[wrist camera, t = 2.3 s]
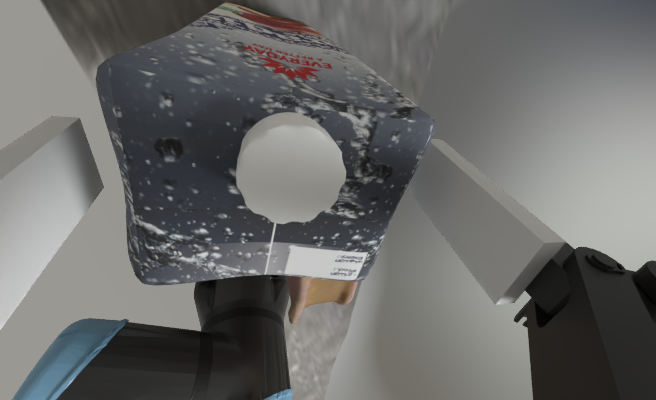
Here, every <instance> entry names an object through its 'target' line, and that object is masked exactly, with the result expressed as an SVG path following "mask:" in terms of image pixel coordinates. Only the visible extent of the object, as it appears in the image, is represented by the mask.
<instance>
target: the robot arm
mask: <svg viewBox="0 0 656 400" xmlns="http://www.w3.org/2000/svg"><path fill="white" fill-rule="evenodd" d="M103 188H104V186H103V183H102V180H101V177H100V174H99V172H98V169H97V166H96V163H95V160H94V157H93V155H92V152H91V149H90V146H89V143H88V140H87V137H86V135H85V132H84V129H83V126H82V123H81V120H80V118H72V117H56V116H51V117H50V118H48V119H47V120H46V121H44V122H42V123H41V124H39V125H38V126H36V127H35V128H33V129H32V130H30V131H29V132H27V133H26V134H24V135H23V136H21V137H20V138H18V139H17V140H15V141H14V142H12V143H11V144H9V145H8V146H6V147H5V148H3V149H2V150H0V330H1V328H2V327H3V326H4V324H5V323H6V321H7V320H8V319H9V317H10V316H11V315H12V313H13V312H14V310H15V309H16V308H17V306H18V305H19V304H20V302H21V301H22V299H23V298H24V297H25V295H26V294H27V292H28V291H29V290H30V288H31V287H32V286H33V284H34V283H35V281H36V280H37V279H38V277H39V276H40V275H41V273H42V272H43V270H44V269H45V268H46V266H47V265H48V264H49V262H50V261H51V259H52V258H53V257H54V255H55V254H56V252H57V251H58V250H59V248H60V247H61V246H62V244H63V243H64V241H65V240H66V239H67V237H68V236H69V235H70V233H71V232H72V230H73V229H74V228H75V226H76V225H77V223H78V222H79V221H80V219H81V218H82V217H83V215H84V214H85V212H86V211H87V210H88V208H89V207H90V206H91V204H92V203H93V202H94V200H95V199H96V197H97V196H98V195H99V193H100V192H101V191H102V189H103ZM408 190H409V192H410V193H411V194H412V196H413V197H414V198H415V200H416V201H417V202H418V204H419V205H420V206H421V207H422V209H423V210H424V211H425V213H426V214H427V215H428V217H429V218H430V219H431V221H432V222H433V223H434V225H435V226H436V227H437V228H438V230H439V231H440V232H441V234H442V235H443V236H444V238H445V239H446V240H447V242H448V243H449V244H450V245H451V247H452V248H453V250H454V251H455V252H456V253H457V255H458V256H459V257H460V259H461V260H462V261H463V263H464V264H465V265H466V267H467V268H468V269H469V271H470V272H471V273H472V275H473V276H474V277H475V279H476V280H477V281H478V282H479V284H480V285H481V286H482V288H483V289H484V290H485V292H486V293H487V294H488V296H489V297H490V298H491V300H492V301H493V302H494V303H495V305H499V304H507V303H515V301H516V300H517V299H518V298H519V296H520V295H521V294H522V293H523V292H524V291H526V292H527V293H528V294H529V295H530V296H531V297H532V298H531V299H530V300H529V301H528V303H527V304H526V305H525V306H524V307H523V308H522V309H521V310H520V311H519V313H518V314H517V315H516V316H515V318H514V321H515V322H518V321H519V320H520V319H521V318H522V317H527V320H526V321H525V322H524V323H523V326H525V327H527V328H528V338H529V351H530V362H531V363H530V364H531V376H532V388H533V400H656V261H649V262H647V263H646V264H644V265H643V266H642V267H641V268H640V269H639V270H638V271H636V272H634V271H629V270H625V268H624V267H623V266H622V265H621V264H619V263H618V262H617V261H615V260H614V259H612V258H611V257H609V256H607V255H606V254H603V253H601V252H599V251H597V250H594V249H590V248H587V247H578V248H576V249H574V248H572V247H571V246H570V245H569V244H568V243H566V241H565V240H563V239H562V238H561V237H560V236H558V235H557V234H556V233H555V232H553V231H552V230H551V229H550V228H549V227H547V226H546V225H545V224H544V223H542V222H541V221H540V220H539V219H538V218H537V217H535V216H534V215H533V214H532V213H530V212H529V211H528V210H527V209H526V208H524V207H523V206H522V205H521V204H519V203H518V202H517V201H516V200H515V199H513V198H512V197H511V196H510V195H508V194H507V193H506V192H505V191H504V190H502V189H501V188H500V187H499V186H498V185H496V184H495V183H494V182H493V181H491V180H490V179H489V178H488V177H487V176H485V175H484V174H483V173H482V172H480V171H479V170H478V169H477V168H476V167H474V166H473V165H472V164H471V163H470V162H468V161H467V160H466V159H465V158H463V157H462V156H461V155H460V154H458V153H457V152H456V151H455V150H454V149H452V148H451V147H450V146H449V145H448V144H446V143H445V142H444V141H443V140H438V139H431V141H430V143H429V145H428V147H427V149H426V151H425V153H424V155H423V157H422V159H421V161H420V163H419V165H418V167H417V169H416V171H415V173H414V175H413V178H412V181H411V183H410V186H409V189H408ZM289 295H290V293H289V286H288V282H287V280H286V275H267V274H266V275H251V276H238V277H231V278H223V279H215V280H207V281H199V282H196V285H195V290H194V299H195V303H196V308H197V312H198V317H199V321H200V325H201V331H195V330H187V329H179V328H170V327H162V326H154V325H146V324H138V323H130V322H128V321H129V320H127V319H124V320H122V321H118V320H105V319H92V318H91V319H83V320H79V321H77V322H75V323H73V324H71V325H70V326H68V327H67V328H66V329H65V330H63V331H62V333H60V335H59V336H58V337H57V338H56V339H55V340H54V342H53V343H52V344H51V345H50V347H49V348H48V349H47V351H46V352H45V353H44V355H43V356H42V357H41V359H40V360H39V361H38V363H37V364H36V365H35V367H34V368H33V370H32V371H31V372H30V374H29V375H28V377H27V378H26V380H25V381H24V383H23V384H22V386H21V387H20V388H19V390H18V391H17V393H16V394H15V396H14V397H13V399H12V400H292V390H291V387H290V377H289V368H288V359H287V350H286V340H285V332H284V316H285V312H286V308H287V304H288V300H289Z"/></svg>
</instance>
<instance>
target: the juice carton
mask: <svg viewBox="0 0 656 400" xmlns="http://www.w3.org/2000/svg"><path fill="white" fill-rule="evenodd" d="M96 86H97V91H98V96H99V100H100V104H101V107H102V111H103V115H104V118H105V122H106V125H107V128H108V131H109V135H110V138H111V141H112V144H113V147H114V151H115V154H116V157H117V161H118V164H119V168H120V172H121V177H122V181H123V185H124V192H125V202H126V223H127V224H126V225H127V243H128V253H129V258H130V261H131V264H132V267H133V269H134V272H135V275H136V276H137V278H138V279H139V280H140V281H141V282H142V283H144V284H149V285H172V284H182V283H191V282H199V281H207V280H215V279H223V278H231V277H238V276H251V275H266V274H267V275H288V276H298V277H307V278H315V279H324V280H333V281H345V282H357V281H361V280H364V279H365V277H366V276H367V275H368V274H369V272H370V271H371V269H372V266H373V264H374V262H375V260H376V257H377V255H378V252H379V250H380V247H381V244H382V242H383V239H384V236H385V234H386V231H387V228H388V226H389V224H390V221H391V219H392V216H393V214H394V212H395V210H396V208H397V206H398V204H399V202H400V200H401V198H402V196H403V194H404V192H405V190H406V188H407V186H408V184H409V182H410V181H411V179H412V177H413V175H414V173H415V171H416V169H417V167H418V165H419V163H420V161H421V159H422V157H423V155H424V153H425V151H426V149H427V147H428V145H429V143H430V141H431V139H432V137H433V134H434V131H435V128H436V125H435V121H434V119H433V118H432V117H431V116H430V115H429V114H427V113H426V112H425V111H423V110H422V109H421V108H420V107H418V106H417V105H416V104H414V103H413V102H412V101H410V100H409V99H408V98H407V97H405V96H404V95H403V94H402V93H400V92H399V91H398V90H397V89H395V88H394V87H393V86H391V85H390V84H389V83H388V82H386V81H385V80H384V79H383V78H382V77H380V76H379V75H378V74H377V73H376V72H374V71H373V70H372V69H371V68H370V67H368V66H367V65H366V64H364V63H363V62H362V61H360V60H359V59H357V58H356V57H354V56H353V55H351V54H350V53H349V52H347V51H346V50H344V49H343V48H341V47H340V46H338V45H337V44H335V43H334V42H332V41H331V40H329V39H328V38H326V37H325V36H323V35H321V34H320V33H318V32H317V31H315V30H314V29H312V28H311V27H309V26H308V25H306V24H304V23H302V22H299V21H296V20H292V19H288V18H282V17H276V16H271V15H266V14H263V13H260V12H257V11H254V10H252V9H249V8H246V7H243V6H240V5H236V4H232V3H227V2H226V3H224V4H222V5H220V6H219V7H217V8H215V9H214V10H212V11H210V12H209V13H207V14H205V15H204V16H202V17H201V18H199V19H197V20H196V21H194V22H192V23H191V24H189V25H188V26H186V27H184V28H183V29H181V30H179V31H177V32H175V33H173V34H170V35H168V36H165V37H162V38H160V39H157V40H154V41H152V42H149V43H146V44H144V45H141V46H138V47H136V48H133V49H130V50H127V51H125V52H122V53H120V54H117V55H115V56H113V57H111V58H109V59H107V60H105V61H104V62H103V63H102V64H101V65H100V66H99V67H98V69H97V75H96Z"/></svg>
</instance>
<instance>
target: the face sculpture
mask: <svg viewBox="0 0 656 400" xmlns="http://www.w3.org/2000/svg"><path fill="white" fill-rule="evenodd" d="M286 280H287V282H288V286H289V293H290V298H291V306H290V309H289V313H288V315H289V321H290V323H291V324H294V323H296V321H297V320H298V318H299V316H300V314H301V312H302V310H303V308H304V307H307V306H310V305H314V304H319V303H327V302H336V303H338V304H341V305H345V304H348V303H349V302H350V301H351V300H352V298H353V295H354V292H355V289H356V285H357V282H358V281H357V282H345V281H333V280H324V279H315V278H307V277H298V276H288V275H286Z"/></svg>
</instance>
